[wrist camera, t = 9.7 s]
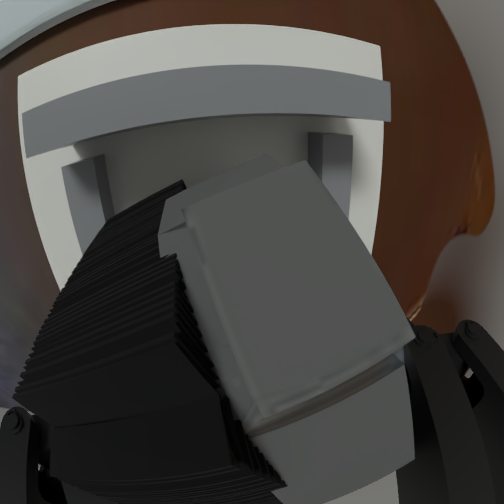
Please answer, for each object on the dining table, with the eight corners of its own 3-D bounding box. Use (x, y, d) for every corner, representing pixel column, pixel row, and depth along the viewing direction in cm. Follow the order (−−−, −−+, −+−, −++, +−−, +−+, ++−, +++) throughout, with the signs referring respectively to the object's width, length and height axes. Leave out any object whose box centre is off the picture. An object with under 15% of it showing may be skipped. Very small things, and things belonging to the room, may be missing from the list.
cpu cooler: (305, 318, 15) (396, 477, 6) (213, 358, 15) (253, 530, 6) (235, 132, 10) (542, 253, 1) (105, 197, 9) (-45, 447, 1)
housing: (123, 390, 17) (120, 443, 13) (27, 78, 7) (-32, 70, 3) (340, 351, 21) (368, 396, 16) (369, 48, 10) (434, 36, 6)
